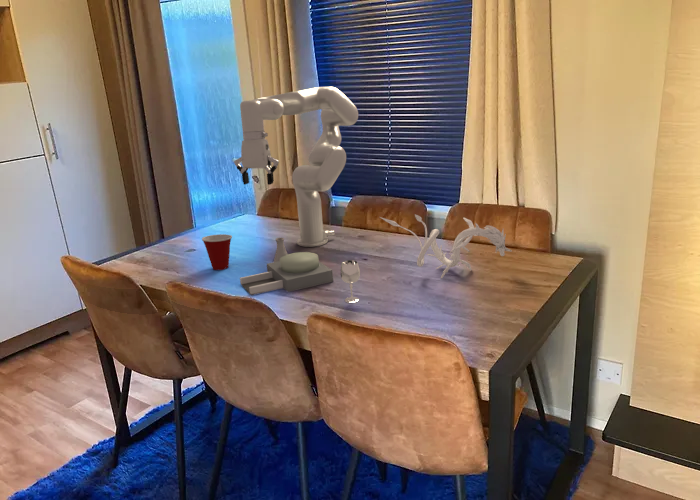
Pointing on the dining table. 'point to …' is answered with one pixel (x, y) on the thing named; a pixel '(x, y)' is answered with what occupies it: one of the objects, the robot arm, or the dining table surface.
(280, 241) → the flask
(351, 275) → the wineglass
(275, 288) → the two-pronged domed base
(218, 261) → the plastic cup
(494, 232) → the white dragon statue
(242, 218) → the dining table surface
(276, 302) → the dining table surface
